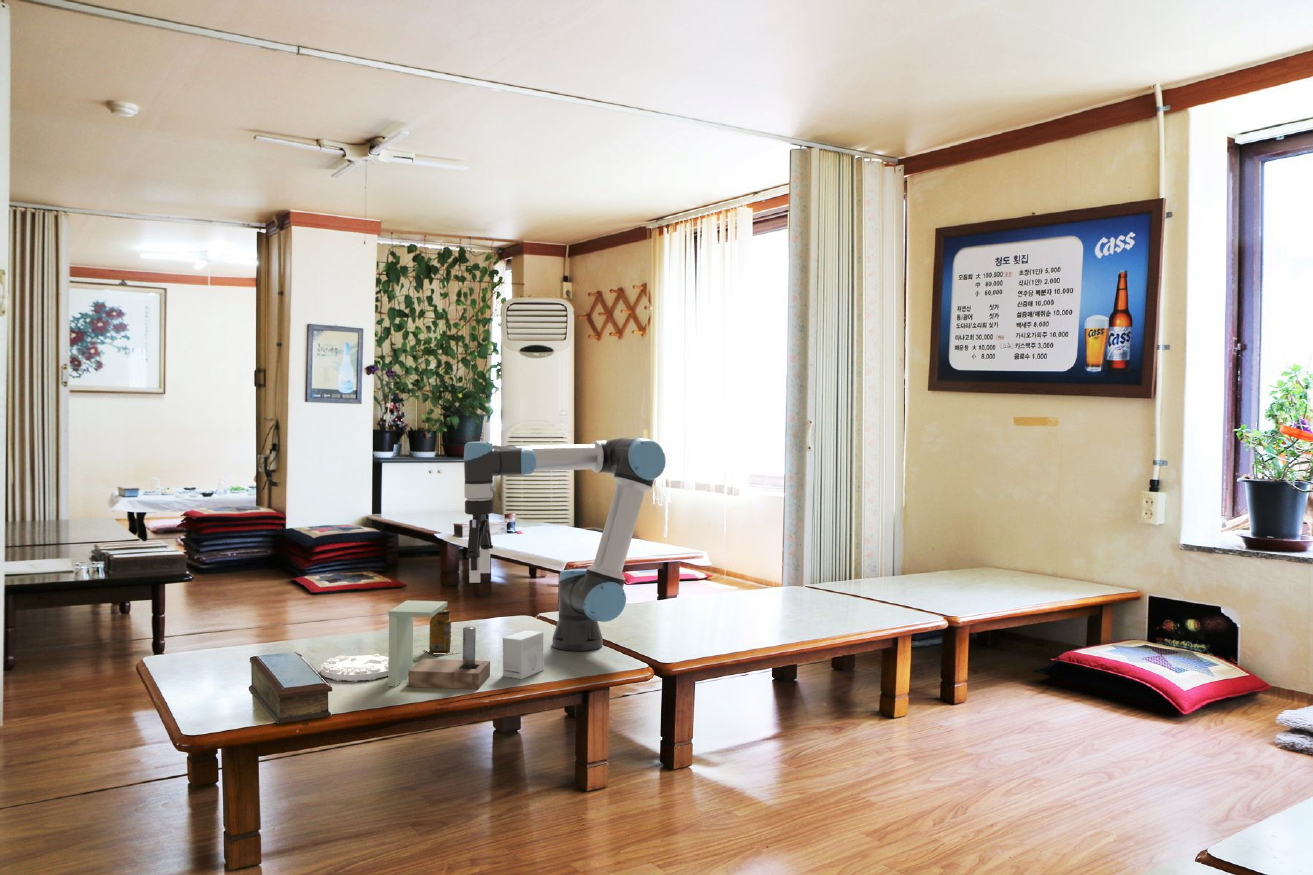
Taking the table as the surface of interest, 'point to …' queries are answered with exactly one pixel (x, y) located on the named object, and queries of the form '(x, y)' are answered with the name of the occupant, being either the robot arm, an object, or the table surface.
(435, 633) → the condiment
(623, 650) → the table surface
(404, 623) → the pale green angled bracket
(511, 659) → the skincare box
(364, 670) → the white round plaque
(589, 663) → the table surface
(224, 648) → the table surface
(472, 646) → the peg
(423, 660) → the socket block
